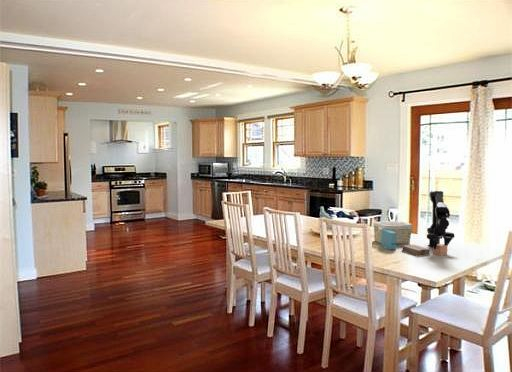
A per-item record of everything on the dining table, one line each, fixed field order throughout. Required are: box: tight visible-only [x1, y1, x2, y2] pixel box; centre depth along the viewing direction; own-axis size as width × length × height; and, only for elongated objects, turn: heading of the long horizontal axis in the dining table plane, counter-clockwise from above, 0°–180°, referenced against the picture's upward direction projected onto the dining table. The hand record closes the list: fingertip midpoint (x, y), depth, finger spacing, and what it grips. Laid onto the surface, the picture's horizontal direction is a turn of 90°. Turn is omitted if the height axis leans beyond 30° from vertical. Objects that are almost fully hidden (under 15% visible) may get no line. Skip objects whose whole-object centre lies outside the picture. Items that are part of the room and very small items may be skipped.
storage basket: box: [373, 220, 414, 245], centre depth 298 cm, size 24×16×15 cm
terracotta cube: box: [432, 243, 448, 256], centre depth 264 cm, size 6×6×6 cm
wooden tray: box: [401, 244, 431, 257], centre depth 267 cm, size 10×14×4 cm
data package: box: [380, 230, 398, 251], centre depth 279 cm, size 12×4×12 cm, turn 14°
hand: (440, 248), depth 264 cm, fingers open, 9 cm apart
